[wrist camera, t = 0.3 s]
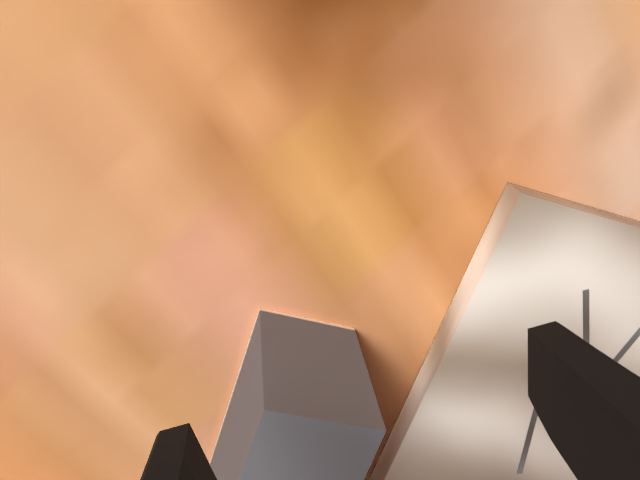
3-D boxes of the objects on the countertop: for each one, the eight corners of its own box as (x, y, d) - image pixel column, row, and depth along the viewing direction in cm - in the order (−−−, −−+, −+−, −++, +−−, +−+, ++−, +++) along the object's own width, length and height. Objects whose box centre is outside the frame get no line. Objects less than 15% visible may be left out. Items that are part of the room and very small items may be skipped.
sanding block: (290, 485, 27) (302, 614, 21) (205, 473, 26) (195, 604, 20) (353, 326, 24) (386, 430, 18) (259, 305, 23) (263, 409, 17)
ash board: (592, 523, 30) (605, 544, 29) (364, 490, 27) (369, 512, 26) (771, 260, 25) (797, 274, 23) (507, 182, 21) (522, 193, 20)
